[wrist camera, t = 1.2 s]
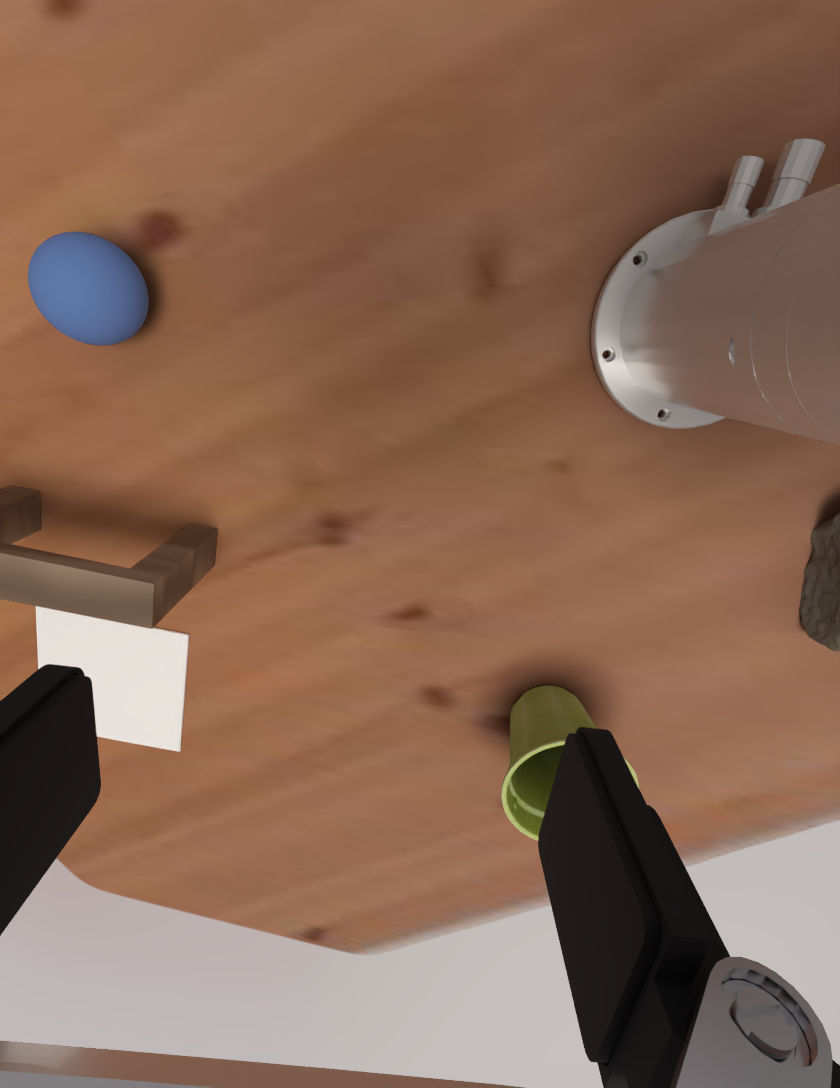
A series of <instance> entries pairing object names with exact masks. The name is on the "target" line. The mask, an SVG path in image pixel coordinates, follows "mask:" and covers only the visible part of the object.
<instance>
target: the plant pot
mask: <svg viewBox="0 0 840 1088" xmlns="http://www.w3.org/2000/svg"><path fill="white" fill-rule="evenodd" d="M579 727H587V728H596V729H597V727H596V725H595V724H594V722H593V721H592V719H591V718H590V716H589V715H588V713H587V711H586V710H585V708H584V707H583V705H582V704H581V702H580V701H579V699H578V698H577V697H576V696H575V695H573V694H572V693H570V692H568V691H567V690H565V689H563V688H561V687H558V686H540V687H536V688H533V689H530V690H528V691H527V692H525V693H524V694H523V695H522V696H521V697H520V699H519V700H518V701H517V702H516V703H515V704H514V705H513V707H512V709H511V713H510V765H509V768H508V771H507V773H506V775H505V777H504V780H503V784H502V790H501V796H502V804H503V807H504V810H505V813H506V815H507V817H508V818H509V820H510V821H511V822H512V823H513V825H514V826H515V827H516V828H517V829H518V830H520V831H521V832H522V833H524V834H526V835H527V836H529V837H530V838H532V839H535V840H537V841H538V837H539V831H540V827H541V824H542V821H543V817H544V814H545V810H546V807H547V803H548V800H549V796H550V793H551V789H552V786H553V782H554V779H555V775H556V772H557V768H558V765H559V762H560V758H561V755H562V751H563V748H564V744H565V741H566V738H567V735H568V734H569V733H574V734H575V733H576V730H577V729H578V728H579ZM623 758H624V760H625V762H626V764H627V766H628V768H629V770H630V772H631V774H632V776H633V778H634V780H635V782H636V784H637V786H638V788H639V784H638V779H637V776H636V774H635V771H634V770H633V768H632V766H631V765H630V763H629V762H628V761H627V760H626V759H625V757H624V756H623Z"/></svg>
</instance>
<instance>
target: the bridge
mask: <svg viewBox="0 0 840 1088" xmlns="http://www.w3.org/2000/svg"><path fill="white" fill-rule="evenodd" d="M39 530H41V510H40V491H35V490H30V489H25V488H21V487H16V486H9V487H6V488H3V489H0V599H3V600H8V601H13V602H18V603H23V604H28V605H33V606H38V607H43V608H48V609H53V610H58V611H63V612H68V613H73V614H79V615H84V616H89V617H94V618H99V619H104V620H109V621H114V622H119V623H124V624H129V625H134V626H139V627H144V628H149V629H152V628H153V627H154V626H155V625H156V624H157V623H158V622H159V621H160V620H161V619H162V618H163V617H164V616H165V615H166V614H167V613H168V612H169V611H170V610H171V609H172V608H173V607H174V606H175V605H176V604H177V603H178V602H179V601H180V600H181V599H182V598H183V597H184V596H185V595H186V594H187V593H188V592H189V591H190V590H191V589H192V588H193V587H194V586H195V585H196V584H197V583H198V582H199V581H200V580H201V579H202V578H203V577H204V575H205V574H206V573H207V572H208V571H209V570H210V569H211V568H212V567H213V566H214V565H215V555H216V544H217V532H218V529H216V528H211V527H206V526H201V525H197V524H192V523H191V524H189V525H188V526H187V527H185V528H184V529H183V530H181V531H180V532H178V533H177V534H176V535H174V536H173V537H172V538H170V539H169V540H168V541H166V542H165V543H164V544H162V545H161V546H160V547H158V548H157V549H156V550H154V551H153V552H152V553H150V554H149V555H148V556H146V557H145V558H144V559H142V560H141V561H139V562H138V563H137V564H135V565H134V566H133V567H131V568H130V569H129V568H124V567H119V566H115V565H110V564H105V563H100V562H95V561H90V560H85V559H80V558H75V557H70V556H66V555H61V554H56V553H51V552H46V551H41V550H36V549H31V548H26V547H21V546H16V545H12V543H14V542H16V541H18V540H20V539H22V538H24V537H26V536H29V535H31V534H33V533H35V532H37V531H39Z"/></svg>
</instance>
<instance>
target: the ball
mask: <svg viewBox="0 0 840 1088" xmlns="http://www.w3.org/2000/svg"><path fill="white" fill-rule="evenodd" d="M28 282H29V288H30V291H31V294H32V297H33V300H34V302H35V304H36V306H37V307H38V309H39V311H40V312H41V313H42V315H43V316H44V317H45V318H46V319H47V320H48V321H49V323H51V324H52V325H53V326H54V327H55V328H56V329H58V330H59V331H60V332H62V333H63V334H65V335H67V336H68V337H70V338H72V339H75V340H77V341H80V342H83V343H86V344H92V345H112V344H117V343H120V342H123V341H125V340H127V339H129V338H130V337H132V336H133V335H134V334H135V333H136V332H137V331H138V330H139V329H140V328H141V326H142V325H143V323H144V321H145V319H146V316H147V312H148V305H149V297H148V290H147V286H146V283H145V280H144V278H143V276H142V274H141V272H140V270H139V269H138V267H137V266H136V264H135V263H134V262H133V260H132V259H131V258H130V257H129V256H128V255H127V254H126V253H125V252H124V251H123V250H121V249H120V248H119V247H118V246H116V245H115V244H113V243H111V242H110V241H108V240H106V239H104V238H101V237H99V236H96V235H93V234H89V233H83V232H66V233H61V234H58V235H55V236H53V237H51V238H49V239H47V240H46V241H44V242H43V243H42V244H41V245H40V246H39V247H38V248H37V249H36V251H35V252H34V254H33V256H32V258H31V261H30V264H29V270H28Z"/></svg>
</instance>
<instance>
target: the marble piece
mask: <svg viewBox="0 0 840 1088" xmlns="http://www.w3.org/2000/svg"><path fill="white" fill-rule="evenodd" d="M811 543H812V555H811V559H810V562H809V563H808V564H807V566H806V568H805V571H804V582H803V587H802V593H801V601H800V607H799V612H800V615H801V617H802V625H803V626H804V627H805V630H806V632H807V635H808V636H809V637H810V638H812V639H814V640H815V641H817V642H818V643H820V644H822V645H825V646H827V647H828V648H829V649H830V650H833V651H840V512H839V513H838V514H836V516H835V517H833V518H831V519H829V520H827V521H826V522H824V523H822V524H820V525H819V526H817V527H816V528H814V529H813V530H812V533H811Z"/></svg>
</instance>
